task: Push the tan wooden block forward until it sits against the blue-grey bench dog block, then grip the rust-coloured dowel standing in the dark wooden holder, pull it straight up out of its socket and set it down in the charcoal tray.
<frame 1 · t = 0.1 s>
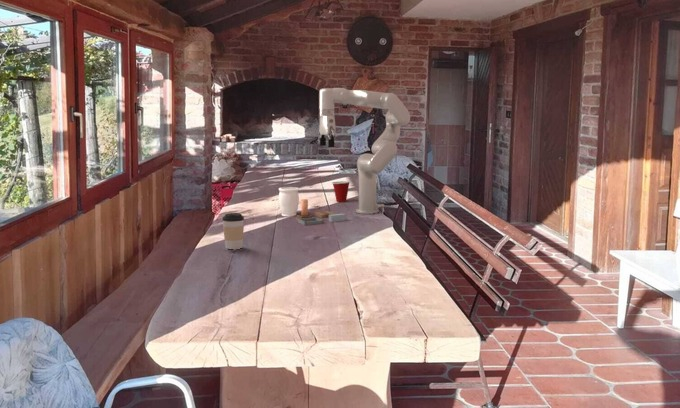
hand: (327, 146, 349), 37 cm above the table, tool pointing down, fingers open, 9 cm apart
dowel: (304, 219, 342), point 1 cm above the table, touching holder
holder: (304, 221, 342), on the table
tray: (310, 224, 334), on the table
coffee cup: (234, 248, 286), on the table
plastic cup: (341, 201, 399), on the table
jar: (289, 216, 355), on the table
tan wooden block: (325, 218, 351), on the table
bench dog: (337, 222, 339), on the table
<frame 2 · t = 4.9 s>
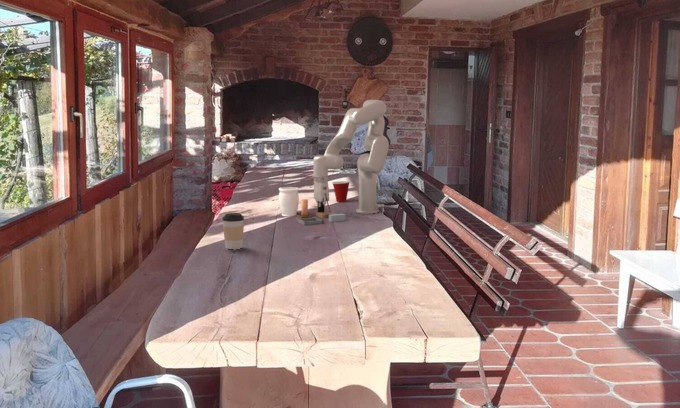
hand: (321, 214, 355), 1 cm above the table, tool pointing down, fingers closed
tan wooden block: (326, 218, 350), on the table, touching gripper
everything else where it was.
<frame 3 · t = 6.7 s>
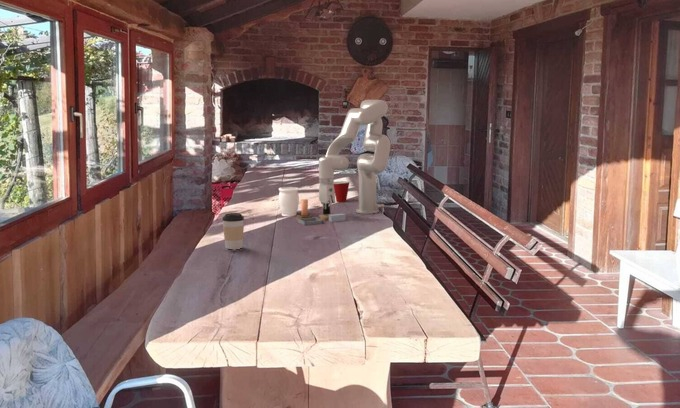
hand: (326, 216, 349), 1 cm above the table, tool pointing down, fingers closed
tan wooden block: (329, 221, 344), on the table
everything else where it was.
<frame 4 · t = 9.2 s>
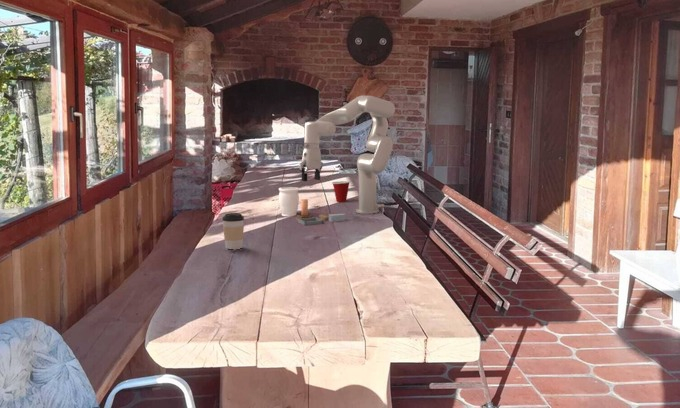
hand: (310, 180, 343), 20 cm above the table, tool pointing down, fingers open, 9 cm apart
nothing on the table moved.
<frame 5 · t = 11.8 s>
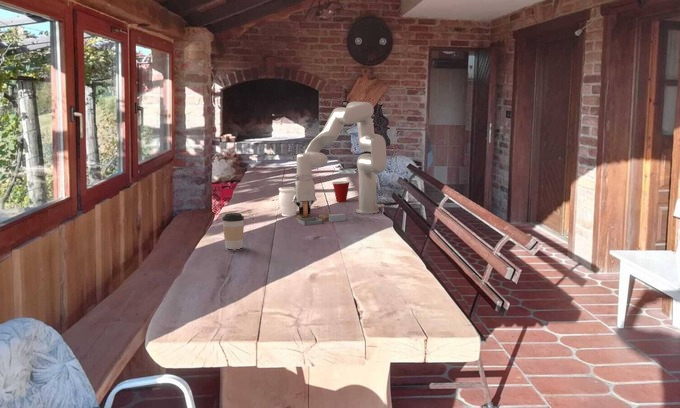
hand: (304, 214, 341), 4 cm above the table, tool pointing down, fingers closed on dowel, 3 cm apart
dowel: (304, 219, 342), point 1 cm above the table, touching gripper, holder
everything else where it was.
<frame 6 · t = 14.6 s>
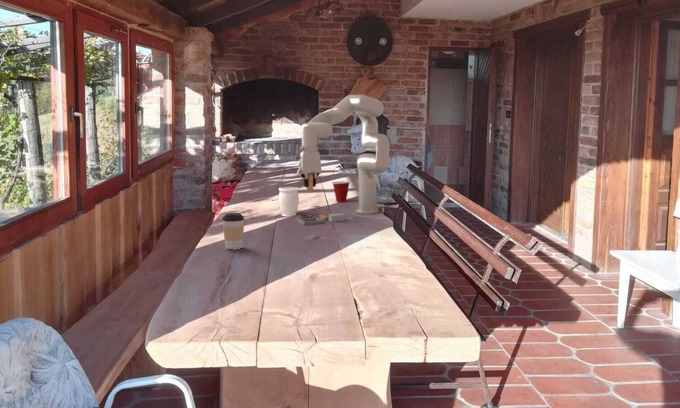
hand: (309, 186, 330), 19 cm above the table, tool pointing down, fingers closed on dowel, 3 cm apart
dowel: (310, 191, 331), point 16 cm above the table, touching gripper
everything else where it was.
when the fingers open (5 cm above the table, at t = 17.4 s): dowel drops 1 cm, resting on tray.
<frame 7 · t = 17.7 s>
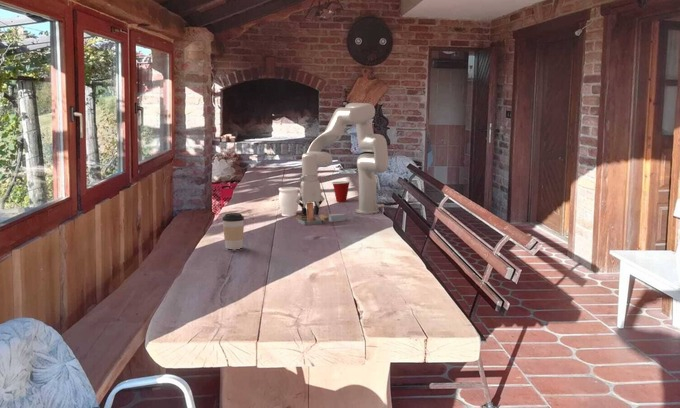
hand: (310, 214, 333), 5 cm above the table, tool pointing down, fingers open, 5 cm apart
dowel: (310, 222, 333), point 1 cm above the table, touching tray
everything else where it was.
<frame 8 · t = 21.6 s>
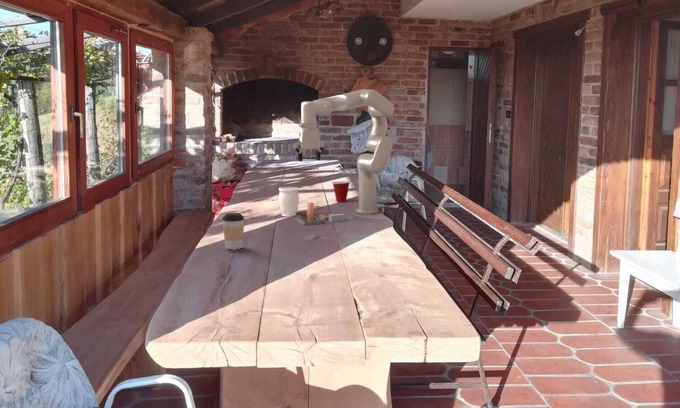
hand: (309, 160, 341), 30 cm above the table, tool pointing down, fingers open, 9 cm apart
nothing on the table moved.
at the end: tan wooden block 1.5 cm from the target spot, on the table; dowel inside the target area on the tray (0.0 cm from its centre), point 0.8 cm above the tray's base; the gripper is holding nothing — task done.
